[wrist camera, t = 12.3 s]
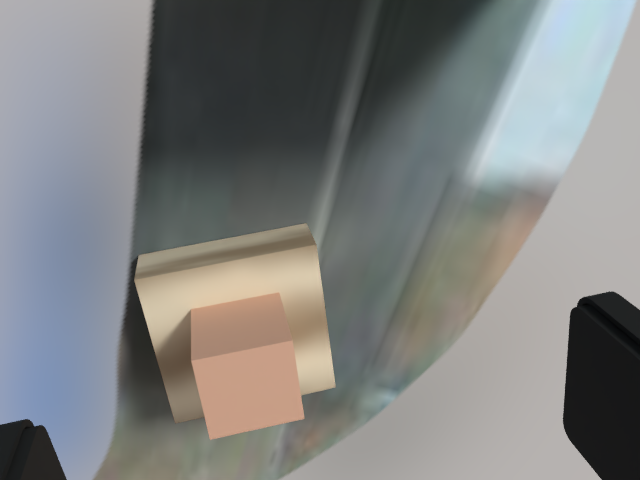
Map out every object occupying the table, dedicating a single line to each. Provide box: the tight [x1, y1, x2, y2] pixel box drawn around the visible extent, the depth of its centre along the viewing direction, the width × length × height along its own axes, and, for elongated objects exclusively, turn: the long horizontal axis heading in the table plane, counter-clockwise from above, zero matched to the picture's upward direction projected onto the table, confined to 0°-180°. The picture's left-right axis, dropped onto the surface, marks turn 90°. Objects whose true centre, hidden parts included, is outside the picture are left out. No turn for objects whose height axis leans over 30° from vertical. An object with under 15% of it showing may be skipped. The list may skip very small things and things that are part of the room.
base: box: [134, 223, 336, 424], centre depth 40 cm, size 11×11×4 cm
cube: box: [191, 292, 304, 440], centre depth 36 cm, size 6×6×6 cm
